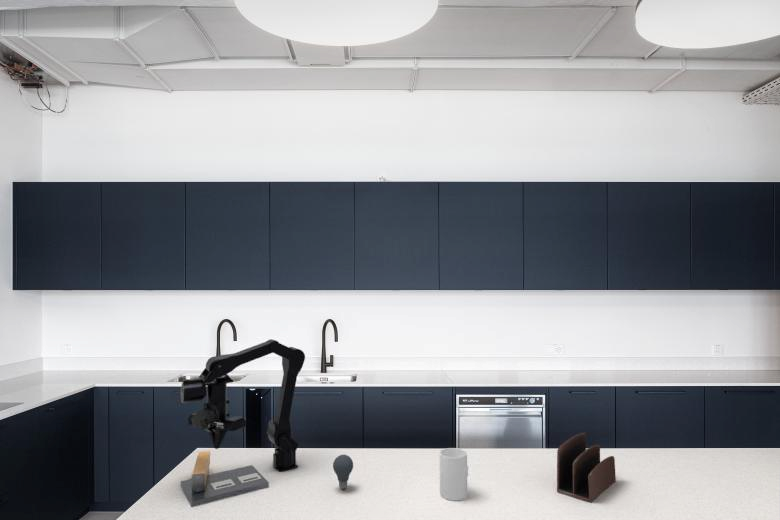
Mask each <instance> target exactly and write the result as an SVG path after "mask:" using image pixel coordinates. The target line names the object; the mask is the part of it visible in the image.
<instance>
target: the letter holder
mask: <svg viewBox="0 0 780 520" xmlns="http://www.w3.org/2000/svg"><path fill="white" fill-rule="evenodd" d="M556 452H557V453H556V457H557V458H556V460H557V461H556V493H558V494H561V495H565V496H568V497H571V498H573V499H577V500H580V501H582V502H583V501H584V502H586V503H589V504H591V503H592V502H593V501H594V500H596V499H597V498H598V497H599V496H601V494H602V493H604V492H605V491H606V490H607V489H609V487H611V486H613V484H614V483H615V482H617V481H616V479H617V478H616V464H615V462H616V461H615V456H613V455H611V456H608V457H605V458H604V459H603V460H601V446H600V445H599V444H595V445H592V446H590V447H588V448H587V434H586V432H580V433H577V434H575V435H573V436H571V437H570V438H568V439H566V441H564V442H563V443H562V444H561V445H560V446H559V447H558V448H557V451H556Z"/></svg>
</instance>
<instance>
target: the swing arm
mask: <svg viewBox="0 0 780 520" xmlns="http://www.w3.org/2000/svg"><path fill="white" fill-rule="evenodd" d="M210 465H211V450H205V451H198V453H197V456H196V459H195V463H194V467H193V471H192V474H191V479H192V491H193V492H199V491H202V490H204V489H205V486H206V481H207V476H208V475H209V471H210Z"/></svg>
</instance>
